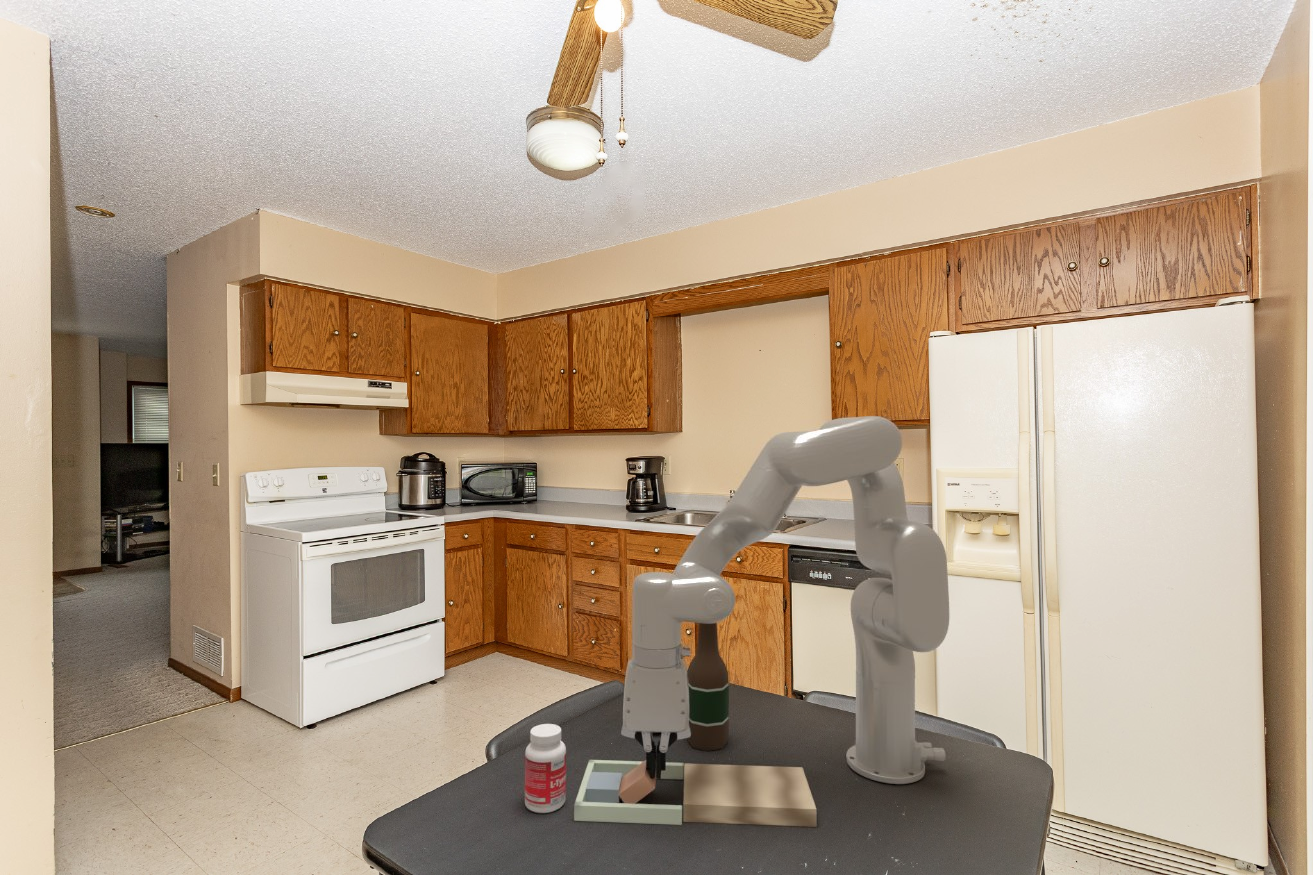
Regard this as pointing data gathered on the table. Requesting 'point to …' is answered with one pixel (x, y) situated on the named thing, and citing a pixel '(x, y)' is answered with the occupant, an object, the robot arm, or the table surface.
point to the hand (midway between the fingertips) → (655, 774)
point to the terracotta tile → (636, 784)
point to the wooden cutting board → (747, 795)
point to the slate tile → (603, 787)
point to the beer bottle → (708, 693)
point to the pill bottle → (545, 769)
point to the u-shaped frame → (625, 810)
